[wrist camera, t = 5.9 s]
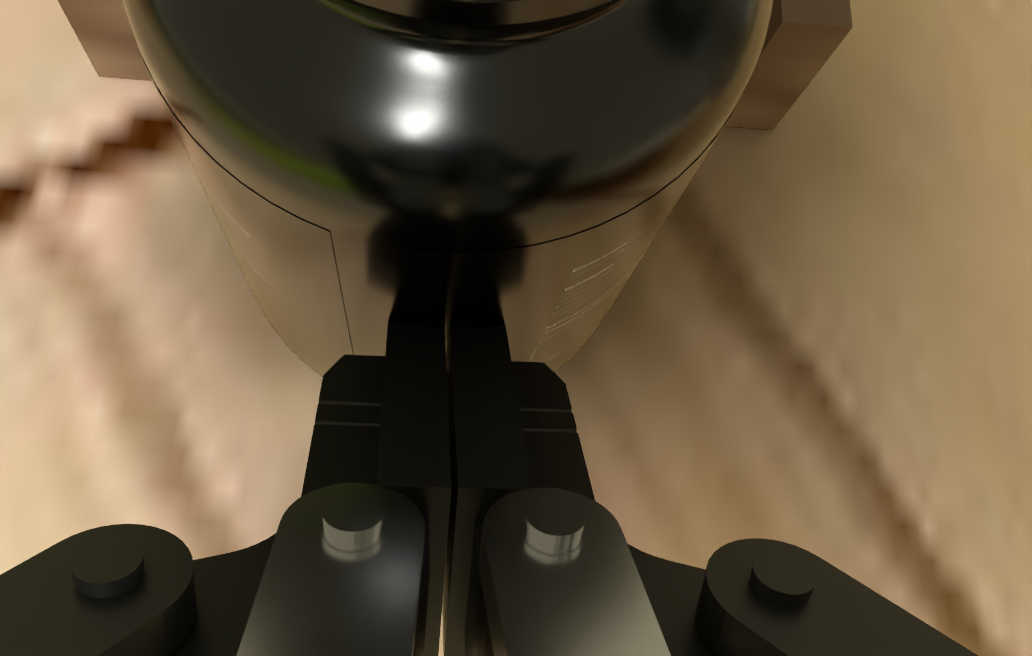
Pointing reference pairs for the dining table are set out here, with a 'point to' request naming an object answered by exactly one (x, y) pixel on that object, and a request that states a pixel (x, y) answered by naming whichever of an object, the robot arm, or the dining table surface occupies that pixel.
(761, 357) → the dining table surface
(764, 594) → the robot arm
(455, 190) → the supplement bottle
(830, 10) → the block
